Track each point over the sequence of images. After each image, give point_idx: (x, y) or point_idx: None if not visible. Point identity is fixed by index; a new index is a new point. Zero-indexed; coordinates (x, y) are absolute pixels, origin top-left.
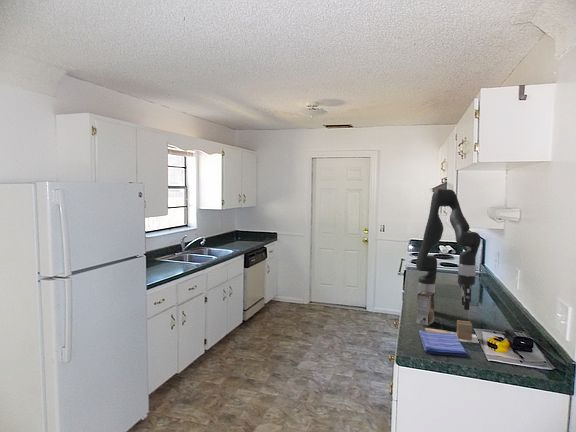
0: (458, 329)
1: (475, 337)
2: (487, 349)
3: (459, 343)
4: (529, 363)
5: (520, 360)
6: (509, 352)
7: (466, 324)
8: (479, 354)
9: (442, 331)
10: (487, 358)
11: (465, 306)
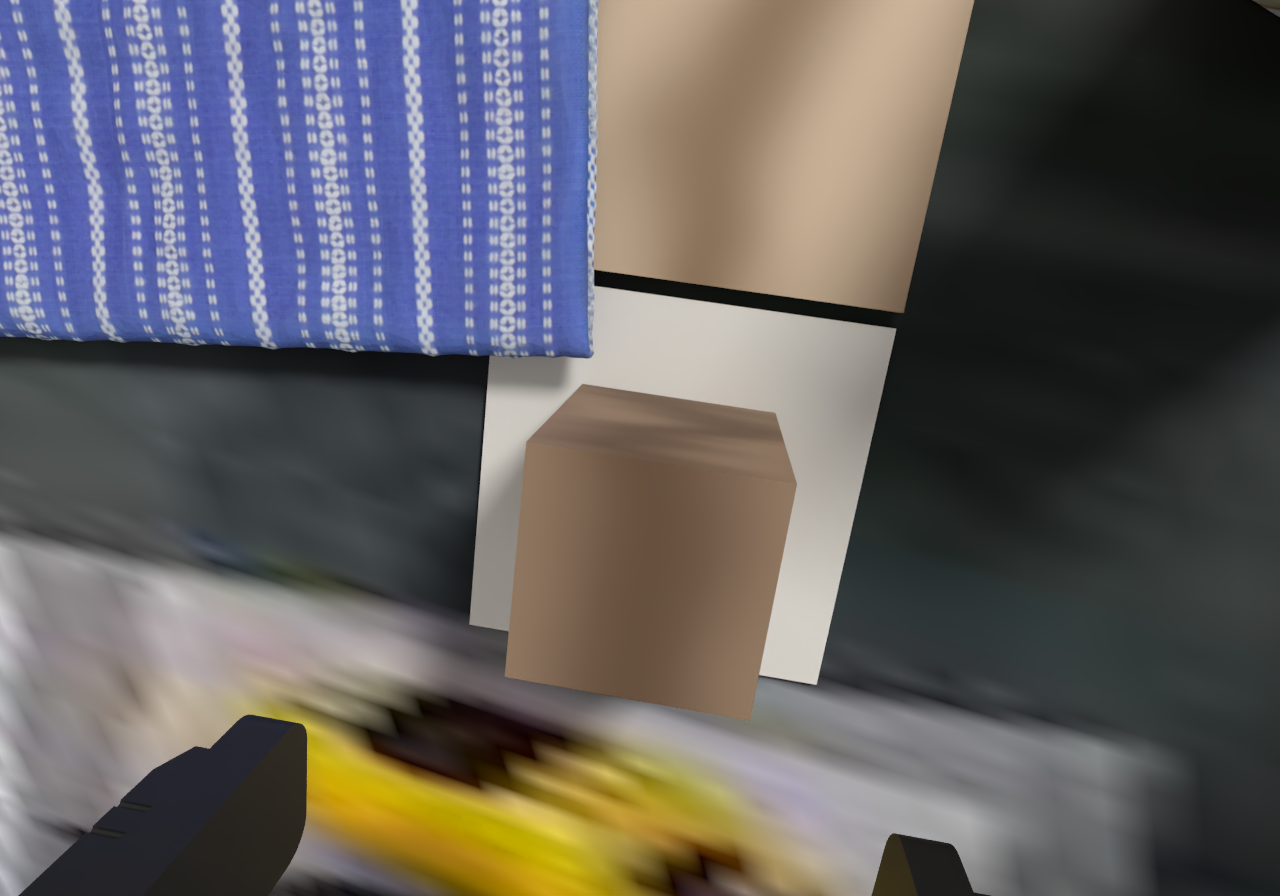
0: (551, 417)
1: None
2: (295, 641)
3: (188, 312)
4: None
5: None
6: None
7: (531, 587)
8: (92, 495)
9: (838, 197)
10: (7, 544)
11: (114, 809)
